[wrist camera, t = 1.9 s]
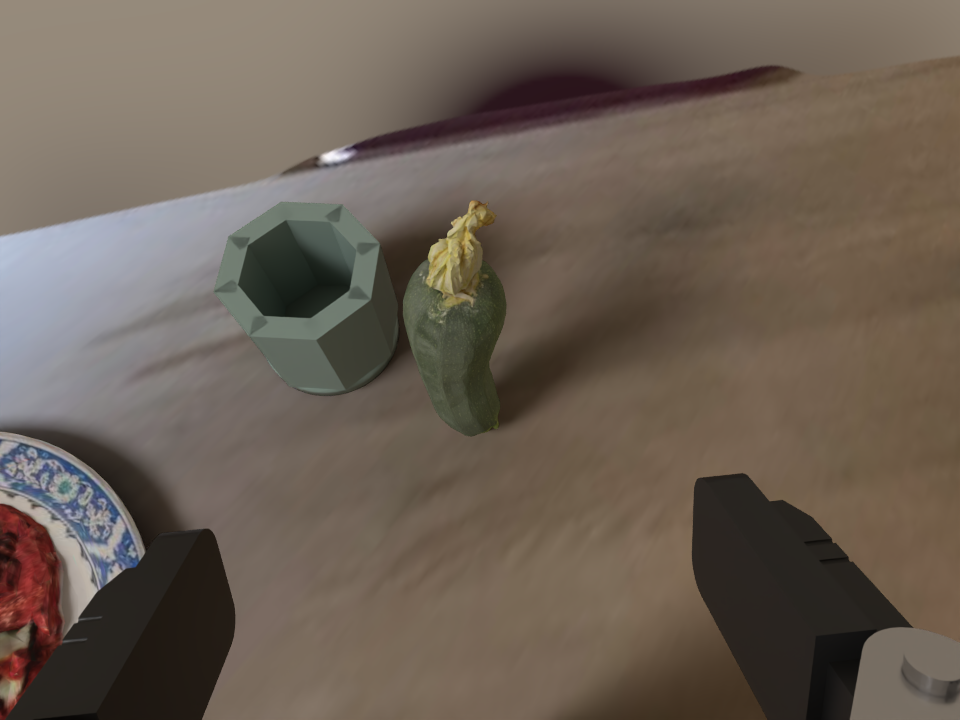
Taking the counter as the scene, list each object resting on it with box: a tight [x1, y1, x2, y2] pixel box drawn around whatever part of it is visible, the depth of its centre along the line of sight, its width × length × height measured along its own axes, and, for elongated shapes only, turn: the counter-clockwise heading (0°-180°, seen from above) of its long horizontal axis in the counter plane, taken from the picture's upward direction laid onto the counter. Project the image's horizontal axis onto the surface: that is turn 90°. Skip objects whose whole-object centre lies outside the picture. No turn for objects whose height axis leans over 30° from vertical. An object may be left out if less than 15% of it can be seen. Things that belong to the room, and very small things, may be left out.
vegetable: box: [403, 201, 506, 436], centre depth 31 cm, size 4×4×20 cm
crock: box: [214, 202, 399, 396], centre depth 39 cm, size 9×9×8 cm
